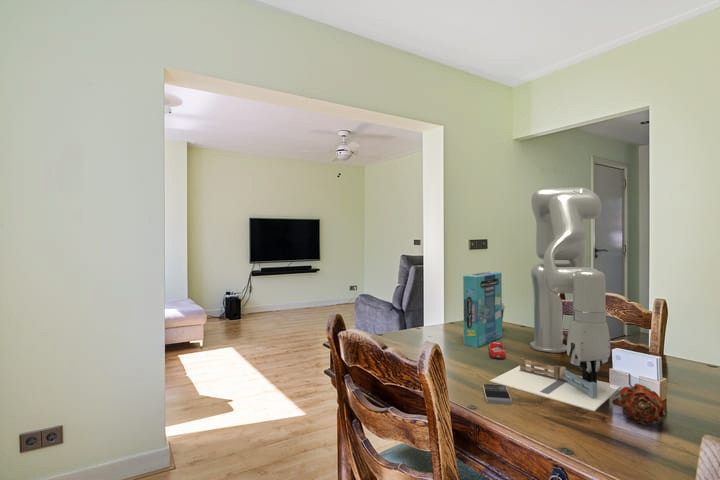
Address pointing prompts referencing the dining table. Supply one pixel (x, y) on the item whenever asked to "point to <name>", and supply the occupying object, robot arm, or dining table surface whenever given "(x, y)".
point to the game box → (482, 308)
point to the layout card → (554, 388)
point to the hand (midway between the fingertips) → (589, 385)
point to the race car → (497, 350)
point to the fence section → (545, 366)
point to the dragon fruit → (640, 404)
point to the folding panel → (591, 385)
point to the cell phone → (496, 394)
